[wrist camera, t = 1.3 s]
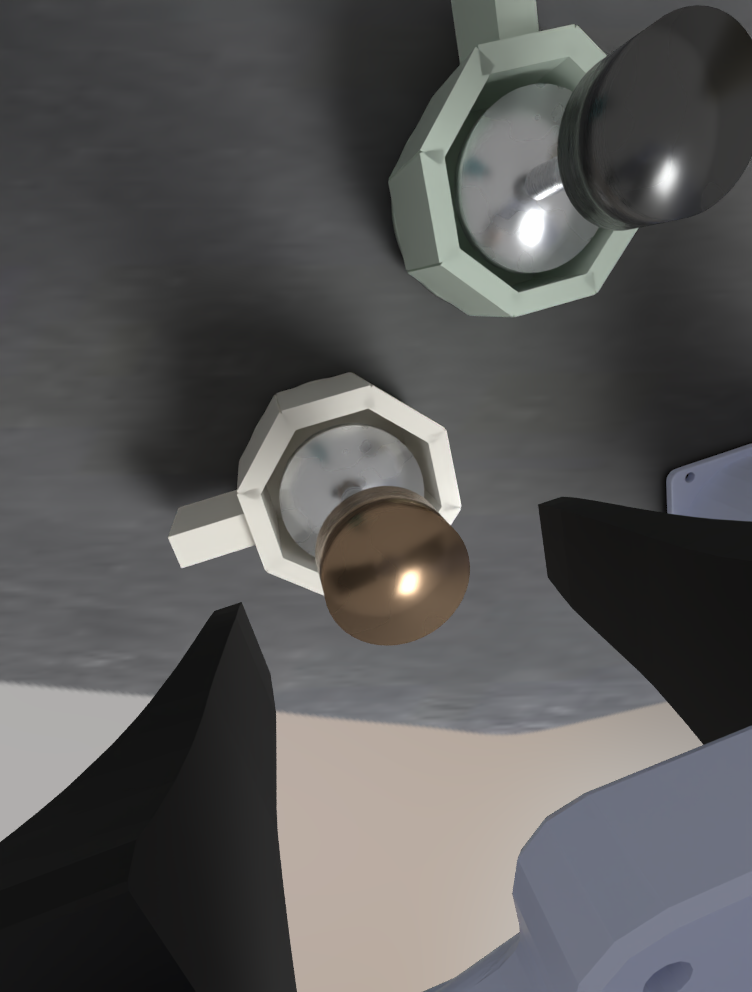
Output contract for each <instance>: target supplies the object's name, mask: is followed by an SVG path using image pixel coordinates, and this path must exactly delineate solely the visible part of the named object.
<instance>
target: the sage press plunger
mask: <svg viewBox="0 0 752 992" xmlns="http://www.w3.org/2000/svg"><path fill="white" fill-rule="evenodd" d="M751 156H752V39H751V37H750V36H749V35H748V33H747V32H746V30H745V29H744V28H743V27H742V25H741V24H740V23H739V22H738V21H737V20H736V19H734V18H733V17H732V16H730V15H729V14H727V13H725V12H723V11H721V10H719V9H717V8H713V7H709V6H698V5H697V6H688V7H684V8H681V9H677V10H674V11H672V12H670V13H668V14H666V15H664V16H663V17H662V18H660V19H659V20H657V21H656V22H654V23H653V24H652V25H650V26H649V27H647V28H646V29H645V30H643V31H642V32H640V33H639V34H637V35H636V36H635V37H633V38H632V39H630V40H629V41H628V42H626V43H625V44H623V45H622V46H620V47H619V48H618V49H616V50H615V51H613V52H612V53H611V54H609V55H608V56H606V57H605V58H603V59H602V60H601V61H599V62H598V63H596V64H595V65H594V66H593V67H592V68H591V69H590V70H589V71H588V72H587V73H586V74H585V75H584V76H583V78H582V79H581V80H580V81H579V83H578V84H577V86H576V87H575V89H574V90H573V92H572V91H571V90H569V89H566V88H564V87H561V86H558V85H553V84H541V83H538V84H531V85H527V86H523V87H520V88H517V89H515V90H513V91H511V92H509V93H508V94H506V95H505V96H503V97H502V98H500V99H499V100H498V101H497V102H495V103H494V104H493V105H492V106H491V107H489V108H488V109H487V110H486V111H485V112H484V113H483V114H482V115H481V116H480V117H479V119H478V120H477V121H476V122H475V123H474V125H473V126H472V128H471V130H470V131H469V133H468V134H467V136H466V138H465V141H464V143H463V145H462V147H461V150H460V153H459V156H458V160H457V164H456V169H455V177H454V199H455V207H456V212H457V216H458V219H459V222H460V225H461V228H462V230H463V232H464V234H465V236H466V238H467V240H468V241H469V243H470V244H471V246H472V247H473V248H474V250H475V251H476V252H477V253H478V254H479V255H480V256H481V257H482V258H483V259H484V260H485V261H487V262H488V263H490V264H491V265H493V266H495V267H497V268H499V269H501V270H504V271H507V272H511V273H519V274H525V273H536V272H542V271H548V270H551V269H554V268H556V267H559V266H561V265H563V264H564V263H566V262H568V261H569V260H571V259H572V258H574V257H575V256H576V255H577V254H578V253H579V252H580V251H582V250H583V249H584V247H585V246H586V245H587V244H588V243H589V242H590V240H591V239H592V237H593V236H594V235H595V233H596V231H597V230H598V228H599V227H600V228H603V229H606V230H613V231H624V230H630V229H635V228H640V227H644V226H649V225H654V224H659V223H664V222H669V221H673V220H678V219H683V218H688V217H691V216H694V215H697V214H699V213H701V212H703V211H705V210H707V209H709V208H710V207H711V206H713V205H714V204H716V203H717V202H718V201H719V200H720V199H722V198H723V197H724V196H725V195H726V194H727V193H728V192H729V191H730V189H731V188H732V187H733V186H734V185H735V183H736V182H737V181H738V179H739V178H740V177H741V175H742V173H743V172H744V170H745V168H746V167H747V165H748V163H749V161H750V159H751Z"/></svg>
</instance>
